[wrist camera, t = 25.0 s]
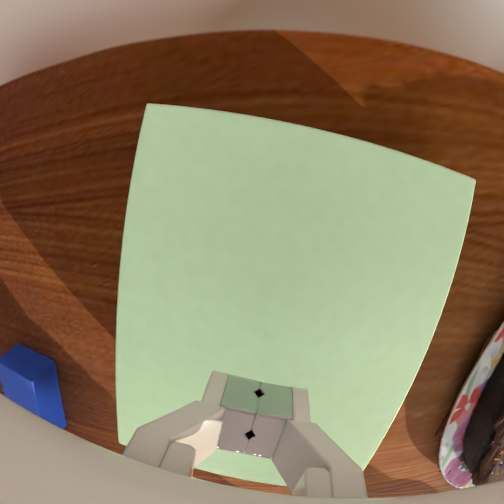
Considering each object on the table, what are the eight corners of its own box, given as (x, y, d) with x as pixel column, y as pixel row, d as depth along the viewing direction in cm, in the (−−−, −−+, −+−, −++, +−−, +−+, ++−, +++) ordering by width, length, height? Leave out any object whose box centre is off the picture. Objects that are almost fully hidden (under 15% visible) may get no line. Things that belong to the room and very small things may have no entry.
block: (67, 425, 24) (49, 446, 20) (33, 406, 24) (14, 425, 21) (55, 360, 22) (31, 382, 18) (19, 342, 22) (-6, 359, 19)
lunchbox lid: (348, 482, 15) (349, 491, 14) (123, 435, 16) (117, 443, 15) (467, 179, 11) (476, 179, 11) (153, 106, 12) (145, 102, 11)
